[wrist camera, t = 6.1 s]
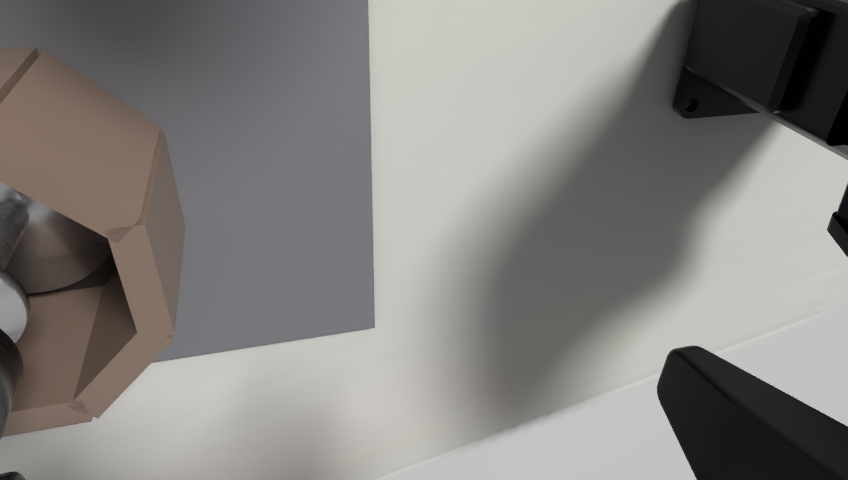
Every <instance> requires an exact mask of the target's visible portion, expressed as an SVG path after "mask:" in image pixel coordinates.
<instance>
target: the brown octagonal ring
mask: <svg viewBox="0 0 848 480" xmlns="http://www.w3.org/2000/svg"><path fill="white" fill-rule="evenodd" d="M159 129H160V126H159V125H158V124H156V123H155V122H153V121H152V120H150V119H149V118H147V117H146V116H144V115H143V114H141V113H140V112H138V111H137V110H135V109H134V108H132V107H131V106H129V105H128V104H126V103H125V102H123V101H122V100H120V99H119V98H117V97H116V96H114V95H113V94H111V93H110V92H108V91H107V90H105V89H104V88H102V87H101V86H99V85H98V84H96V83H95V82H93V81H92V80H90V79H89V78H87V77H86V76H84V75H83V74H81V73H80V72H78V71H77V70H75V69H74V68H72V67H71V66H69V65H68V64H66V63H65V62H63V61H62V60H60V59H59V58H57V57H56V56H55V55H53V54H52V53H50V52H49V51H47V50H46V49H44V51H43V52H42V53H41V54H40V56H39V53H38V50H37V47H13V48H0V182H2V183H4V184H6V185H7V186H9V187H11V188H13V189H15V190H17V191H19V192H21V193H23V194H25V195H26V196H28V197H30V198H32V199H34V200H36V201H38V202H40V203H42V204H43V205H45V206H47V207H49V208H51V209H53V210H55V211H57V212H59V213H61V214H62V215H64V216H66V217H68V218H70V219H72V220H74V221H76V222H78V223H79V224H81V225H83V226H85V227H87V228H89V229H91V230H93V231H95V232H97V233H98V234H100V235H102V236H104V237H106V238H108V241H109V244H110V247H111V252H110V254H109V255H108V257H107V258H106V259H105V261H104V262H103V263H102V264H101V265H100V266H99V267H98V268H97V269H96V270H95V271H94V272H92V273H91V274H90V275H88V276H87V277H85V278H83V279H81V280H80V281H78V282H76V283H73V284H71V285H68V286H66V287H62V288H59V289H55V290H51V291H45V292H37V293H27V294H28V297H29V300H30V306H31V309H30V316H29V319H28V322H27V324H26V327H25V329H24V331H23V333H22V335H21V337H20V338H19V339H18V341H17V342H16V343H15V344H16V346H17V348H18V350H19V351H20V354H21V356H22V359H23V365H24V372H23V378H22V381H21V384H20V387H19V390H18V392H17V395H16V398H15V400H14V403H13V406H12V409H11V411H10V414H9V417H8V419H7V422H6V425H5V428H4V430H3V433H2V436H1V437H4V436H10V435H16V434H21V433H27V432H33V431H39V430H44V429H50V428H56V427H62V426H67V425H73V424H79V423H85V422H90V421H92V417H96V418H99V417H100V416H101V414H102V413H103V412H104V411H105V410H106V409H107V408H108V407H109V406H110V405H111V404H112V403H113V402H114V401H115V400H116V399H117V398H118V397H119V396H120V395H121V394H122V393H123V392H124V391H125V390H126V388H127V387H128V386H129V385H130V384H131V383H132V382H133V381H134V380H135V379H136V378H137V377H138V376H139V375H140V374H141V373H142V372H143V371H144V370H145V369H146V368H147V367H148V366H149V365H150V363H151V362H152V361H153V360H154V359H155V358H156V357H157V356H158V355H159V354H160V353H161V352H162V351H163V350H164V349H165V348H166V347H167V346H168V345H169V344H170V343H171V342H172V341H173V335H175V325H176V315H177V306H178V296H179V286H180V276H181V267H182V257H183V247H184V237H185V222H184V218H183V214H182V209H181V205H180V200H179V196H178V191H177V187H176V182H175V178H174V174H173V169H172V165H171V160H170V156H169V151H168V147H167V142H166V138H165V134H164V132H159Z"/></svg>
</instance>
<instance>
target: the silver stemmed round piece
mask: <svg viewBox="0 0 848 480" xmlns="http://www.w3.org/2000/svg"><path fill="white" fill-rule="evenodd" d="M110 252H111V247H110V244H109V241H108V238H106V237H104V236H102V235H100V234H98V233H97V232H95V231H93V230H91V229H89V228H87V227H85V226H83V225H81V224H79V223H78V222H76V221H74V220H72V219H70V218H68V217H66V216H64V215H62V214H61V213H59V212H57V211H55V210H53V209H51V208H49V207H47V206H45V205H43V204H42V203H40V202H38V201H36V200H34V199H32V198H30V197H28V196H26V195H25V194H23V193H21V192H19V191H17V190H15V189H13V188H11V187H9V186H7V185H6V184H4V183H2V182H0V438H1V436H2V433H3V430H4V428H5V425H6V422H7V419H8V417H9V414H10V411H11V409H12V406H13V403H14V400H15V398H16V395H17V392H18V390H19V387H20V384H21V381H22V378H23V372H24V365H23V359H22V356H21V354H20V351H19V350H18V348H17V346H16V344H15V343H16V342H17V341H18V339H19V338H20V337H21V335H22V333H23V331H24V329H25V327H26V324H27V322H28V319H29V316H30V309H31V306H30V300H29V297H28V294H27V293H37V292H45V291H51V290H55V289H59V288H62V287H66V286H68V285H71V284H73V283H76V282H78V281H80V280H81V279H83V278H85V277H87V276H88V275H90V274H91V273H92V272H94V271H95V270H96V269H97V268H98V267H99V266H100V265H101V264H102V263H103V262H104V261H105V259H106V258H107V257H108V255H109V254H110Z"/></svg>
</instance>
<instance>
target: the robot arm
mask: <svg viewBox="0 0 848 480" xmlns="http://www.w3.org/2000/svg"><path fill="white" fill-rule="evenodd" d="M691 99H692V101H691V103H690V105H688V106H687V107H686V105H687V103H688V101H690V100H691ZM673 109H674V111H675V112H676V113H677V114H679V115H680V116H682V117H683V118H687V119H691V118H703V117H714V116H726V115H738V114H749V113H762V114H764V115H766V116H767V117H769V118H771V119H773V120H775V121H777V122H779V123H780V124H782V125H784V126H786V127H788V128H790V129H791V130H793V131H795V132H797V133H799V134H801V135H803V136H804V137H806V138H808V139H810V140H812V141H814V142H815V143H817V144H819V145H821V146H823V147H825V148H826V149H828V150H830V151H832V152H834V153H836V154H838V155H839V156H841V157H843V158H845V159H847V160H848V0H701V1H700V5H699V8H698V12H697V16H696V20H695V23H694V27H693V31H692V34H691V38H690V42H689V45H688V49H687V53H686V56H685V60H684V64H683V67H682V71H681V75H680V79H679V82H678V86H677V90H676V93H675V97H674V101H673ZM827 230H828V232H829V233H830V235H831V236H832V237H833V239H834V240H835V241H836V243H837V244H838V245H839V246H840V248H841V249H842V250H843V252H844V253H845V254H846V256H847V257H848V184H847V186H846V189H845V192H844V195H843V197H842V200H841V203H840V205H839V208H838V211H837V212H834V213H833V214H832V217H831V219H830V222H829V225H828V228H827ZM657 394H658V398H659V401H660V403H661V405H662V407H663V410H664V412H665V414H666V416H667V418H668V420H669V422H670V424H671V426H672V428H673V431H674V433H675V435H676V437H677V439H678V441H679V443H680V445H681V448H682V450H683V452H684V454H685V456H686V458H687V460H688V462H689V464H690V466H691V469H692V470H693V473H694V474H695V477H696V479H697V480H848V427H847V426H845V425H844V424H842V423H840V422H838V421H836V420H834V419H833V418H831V417H829V416H827V415H825V414H823V413H821V412H820V411H818V410H816V409H814V408H812V407H810V406H808V405H807V404H805V403H803V402H801V401H799V400H797V399H796V398H794V397H792V396H790V395H788V394H786V393H785V392H783V391H781V390H779V389H777V388H775V387H774V386H772V385H770V384H768V383H766V382H764V381H762V380H760V379H759V378H757V377H755V376H753V375H751V374H750V373H748V372H746V371H744V370H742V369H740V368H738V367H737V366H735V365H733V364H731V363H729V362H727V361H726V360H724V359H722V358H720V357H718V356H716V355H714V354H713V353H711V352H709V351H707V350H705V349H703V348H701V347H699V346H687V347H682V348H676V349H673V350H672V351H670V352H669V354H668V356H667V359H666V361H665V364H664V367H663V370H662V373H661V376H660V378H659V381H658V385H657ZM0 480H25V479H24V477H23V476H22V475H21V474H19V473H18V472H8V473H3V474H0Z"/></svg>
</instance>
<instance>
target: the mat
mask: <svg viewBox="0 0 848 480" xmlns="http://www.w3.org/2000/svg"><path fill="white" fill-rule="evenodd" d="M13 47H37V50H38V53H39V56H40V54H41V53H42V52H43V51H44V49H46V50H47V51H49V52H50V53H52V54H53V55H55V56H56V57H57V58H59V59H60V60H62V61H63V62H65V63H66V64H68V65H69V66H71V67H72V68H74V69H75V70H77V71H78V72H80V73H81V74H83V75H84V76H86V77H87V78H89V79H90V80H92V81H93V82H95V83H96V84H98V85H99V86H101V87H102V88H104V89H105V90H107V91H108V92H110V93H111V94H113V95H114V96H116V97H117V98H119V99H120V100H122V101H123V102H125V103H126V104H128V105H129V106H131V107H132V108H134V109H135V110H137V111H138V112H140V113H141V114H143V115H144V116H146V117H147V118H149V119H150V120H152V121H153V122H155V123H156V124H158V125H159V126H160V129H159V132H164V134H165V138H166V142H167V147H168V151H169V156H170V160H171V165H172V169H173V174H174V178H175V182H176V187H177V191H178V196H179V200H180V205H181V209H182V214H183V218H184V222H185V237H184V247H183V257H182V267H181V276H180V286H179V296H178V306H177V315H176V325H175V335H173V341H172V342H171V343H170V344H169V345H168V346H167V347H166V348H165V349H164V350H163V351H162V352H161V353H160V354H159V355H158V356H157V357H156V358H155V359H154V360H153V361H152V362H158V361H165V360H171V359H178V358H184V357H190V356H197V355H203V354H210V353H216V352H222V351H229V350H235V349H242V348H248V347H254V346H261V345H267V344H274V343H280V342H286V341H293V340H299V339H305V338H312V337H318V336H325V335H331V334H337V333H344V332H350V331H357V330H363V329H369V328H375V317H374V268H373V219H372V171H371V122H370V74H369V25H368V0H0V48H13ZM152 362H151V363H152Z"/></svg>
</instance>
